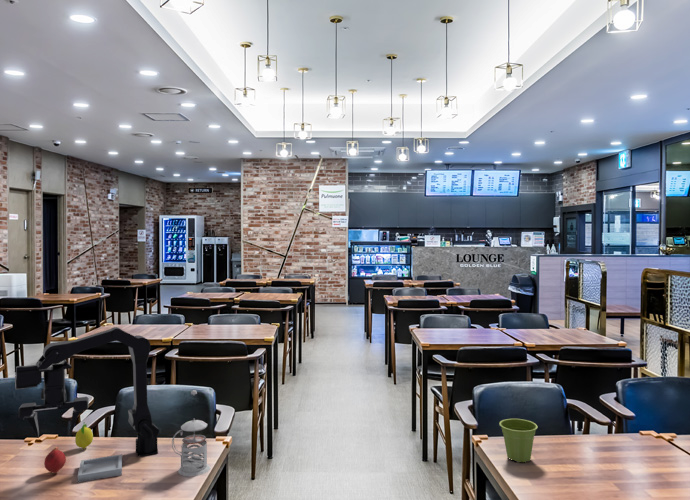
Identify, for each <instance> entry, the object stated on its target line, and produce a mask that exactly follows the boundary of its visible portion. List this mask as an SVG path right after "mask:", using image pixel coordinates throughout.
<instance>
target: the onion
mask: <svg viewBox="0 0 690 500" xmlns="http://www.w3.org/2000/svg"><path fill="white" fill-rule="evenodd" d="M66 457H67V456H66V455H65V453H64V452H63V451H62V450H60V449H59V447H57V446H55V447H54V448H53V449H52V450H51V451H50V452H48V453H47V455H46V456H45V458H44V468H45V469H46V470H47V471H48V472H50V473H53V474H57V473H58V472H59V471H61V470H62V468H63V467H64V466H65V465H66V463H67V462H66V461H67V458H66Z"/></svg>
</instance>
